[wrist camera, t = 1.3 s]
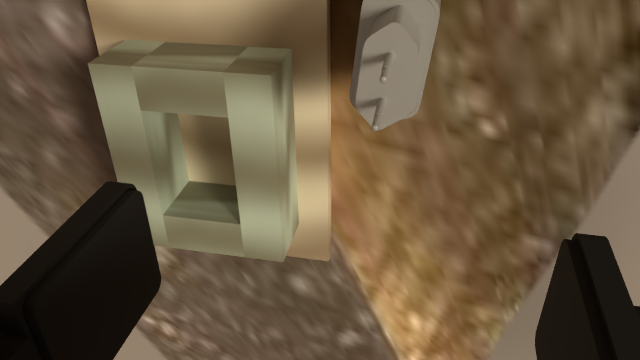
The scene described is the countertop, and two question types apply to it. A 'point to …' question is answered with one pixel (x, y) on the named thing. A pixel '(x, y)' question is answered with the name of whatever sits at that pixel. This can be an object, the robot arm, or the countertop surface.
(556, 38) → the countertop surface
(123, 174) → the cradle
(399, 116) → the power adapter
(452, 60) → the countertop surface
